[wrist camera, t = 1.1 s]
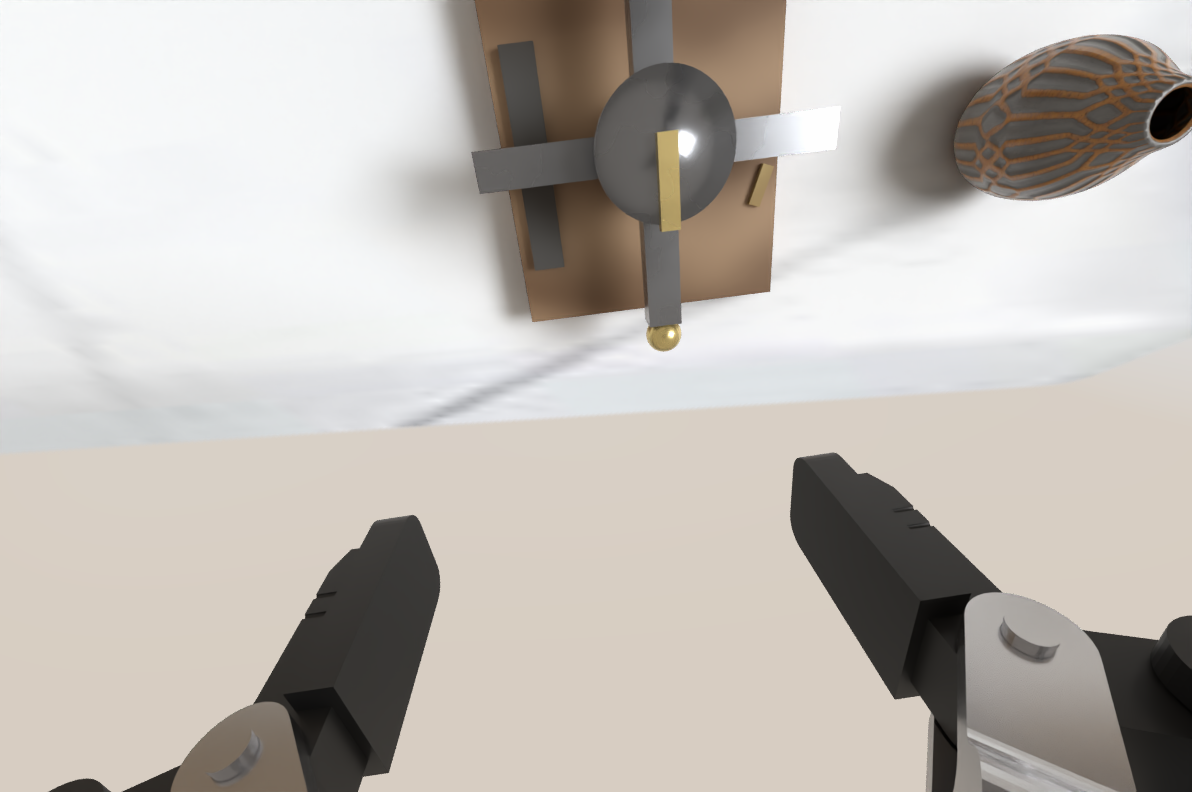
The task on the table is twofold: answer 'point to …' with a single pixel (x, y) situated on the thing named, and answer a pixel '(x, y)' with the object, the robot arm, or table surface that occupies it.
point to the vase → (1072, 117)
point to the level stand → (571, 111)
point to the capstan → (659, 154)
